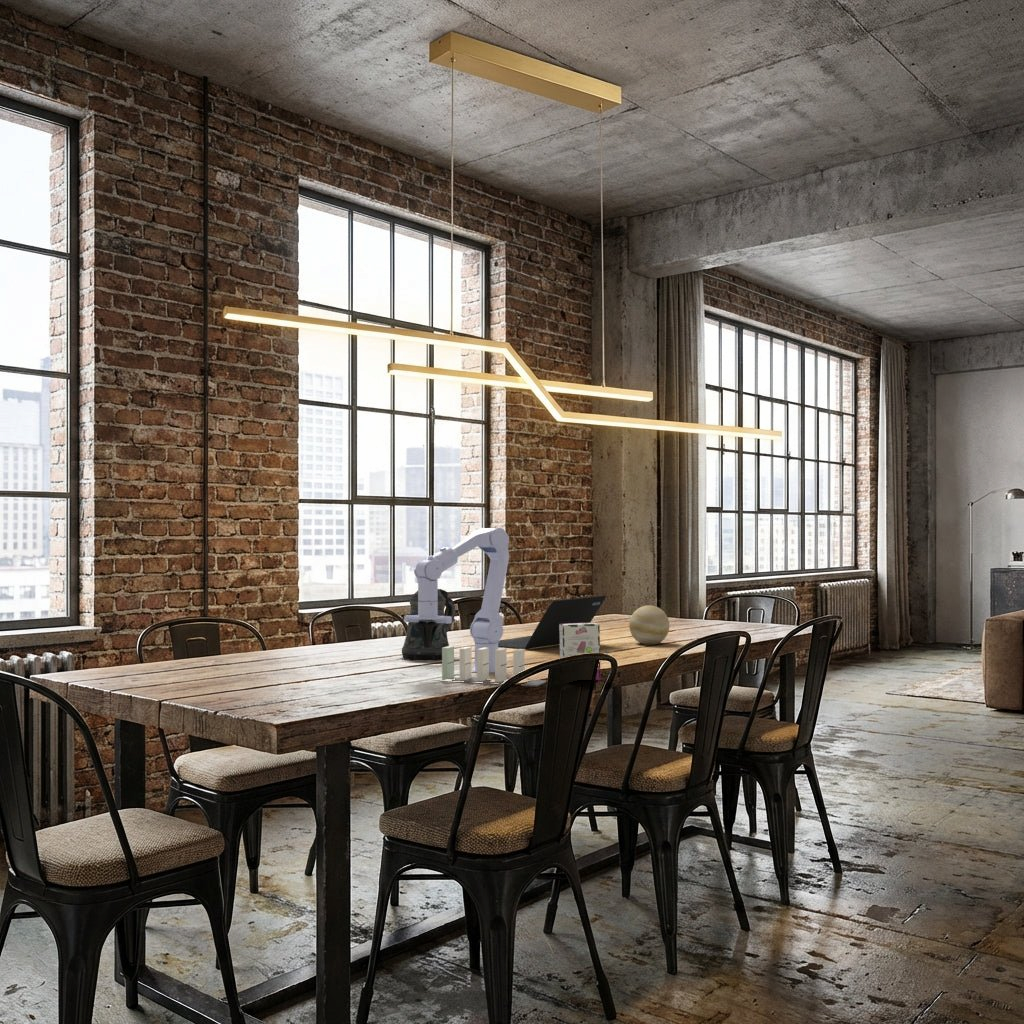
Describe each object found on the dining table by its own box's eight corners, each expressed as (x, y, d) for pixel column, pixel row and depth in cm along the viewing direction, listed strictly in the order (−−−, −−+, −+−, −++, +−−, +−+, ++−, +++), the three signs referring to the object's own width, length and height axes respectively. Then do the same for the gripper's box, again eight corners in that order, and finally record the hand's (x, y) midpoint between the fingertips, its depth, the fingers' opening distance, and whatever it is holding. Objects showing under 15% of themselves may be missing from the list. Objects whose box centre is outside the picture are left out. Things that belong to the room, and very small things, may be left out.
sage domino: (442, 679, 299) (442, 647, 299) (449, 676, 304) (448, 646, 304) (447, 679, 299) (447, 648, 299) (454, 676, 303) (454, 646, 303)
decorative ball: (648, 642, 400) (647, 603, 400) (677, 645, 388) (677, 605, 388) (621, 645, 390) (620, 605, 390) (650, 648, 378) (650, 607, 379)
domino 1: (459, 679, 297) (459, 648, 297) (466, 677, 302) (466, 646, 302) (464, 680, 297) (464, 648, 297) (471, 677, 301) (471, 646, 302)
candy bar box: (596, 678, 303) (595, 622, 303) (600, 680, 298) (600, 623, 298) (559, 679, 301) (558, 623, 301) (563, 681, 296) (563, 624, 296)
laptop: (530, 640, 411) (530, 591, 411) (607, 647, 387) (607, 595, 387) (473, 647, 386) (473, 595, 386) (552, 655, 361) (552, 599, 362)
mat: (419, 680, 299) (419, 678, 299) (432, 676, 308) (432, 674, 308) (537, 686, 287) (537, 685, 287) (547, 682, 295) (547, 680, 295)
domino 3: (495, 681, 293) (495, 650, 294) (501, 679, 298) (501, 648, 298) (500, 682, 293) (500, 650, 293) (506, 679, 298) (506, 648, 298)
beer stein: (393, 662, 342) (393, 586, 342) (416, 655, 360) (416, 583, 361) (440, 663, 337) (440, 587, 337) (460, 656, 356) (460, 584, 356)
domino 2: (477, 680, 295) (477, 649, 296) (483, 678, 300) (483, 647, 300) (482, 681, 295) (482, 649, 295) (489, 678, 299) (488, 647, 300)
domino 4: (513, 682, 291) (513, 650, 292) (519, 680, 296) (519, 648, 296) (518, 683, 291) (518, 650, 291) (524, 680, 296) (524, 649, 296)
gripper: (399, 601, 303) (399, 647, 302) (444, 602, 298) (444, 649, 297) (410, 599, 309) (410, 645, 309) (454, 601, 304) (454, 647, 304)
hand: (427, 647), depth 304 cm, fingers closed
